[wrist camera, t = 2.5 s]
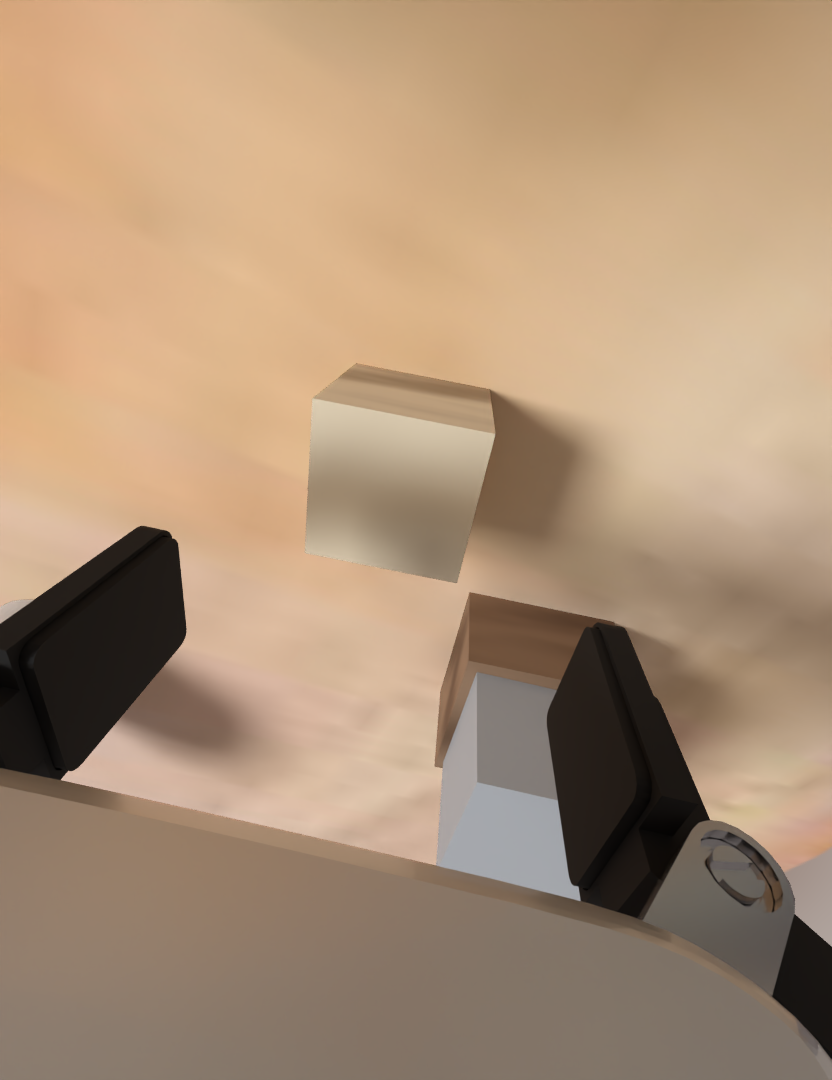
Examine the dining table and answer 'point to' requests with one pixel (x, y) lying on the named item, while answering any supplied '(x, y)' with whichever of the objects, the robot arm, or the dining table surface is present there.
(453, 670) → the walnut block
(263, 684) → the dining table surface
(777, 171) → the dining table surface
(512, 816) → the grey block
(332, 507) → the maple cube
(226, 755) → the dining table surface
